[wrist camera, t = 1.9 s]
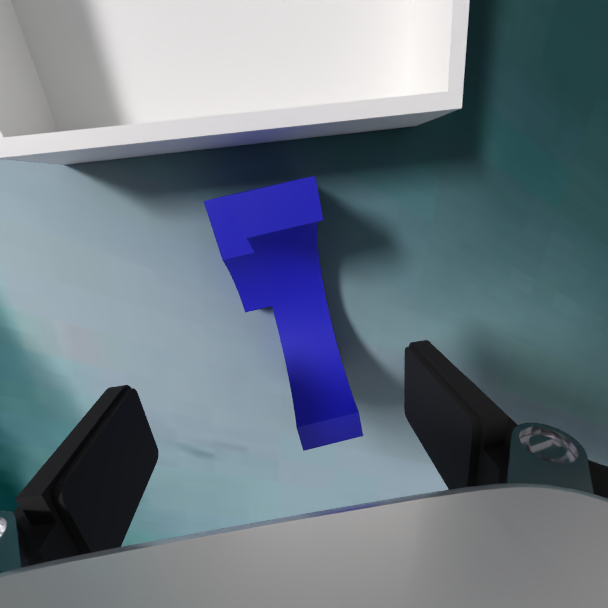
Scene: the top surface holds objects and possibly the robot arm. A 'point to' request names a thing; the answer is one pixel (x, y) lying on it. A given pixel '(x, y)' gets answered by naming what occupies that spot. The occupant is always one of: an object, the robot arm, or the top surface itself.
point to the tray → (219, 73)
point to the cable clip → (289, 297)
